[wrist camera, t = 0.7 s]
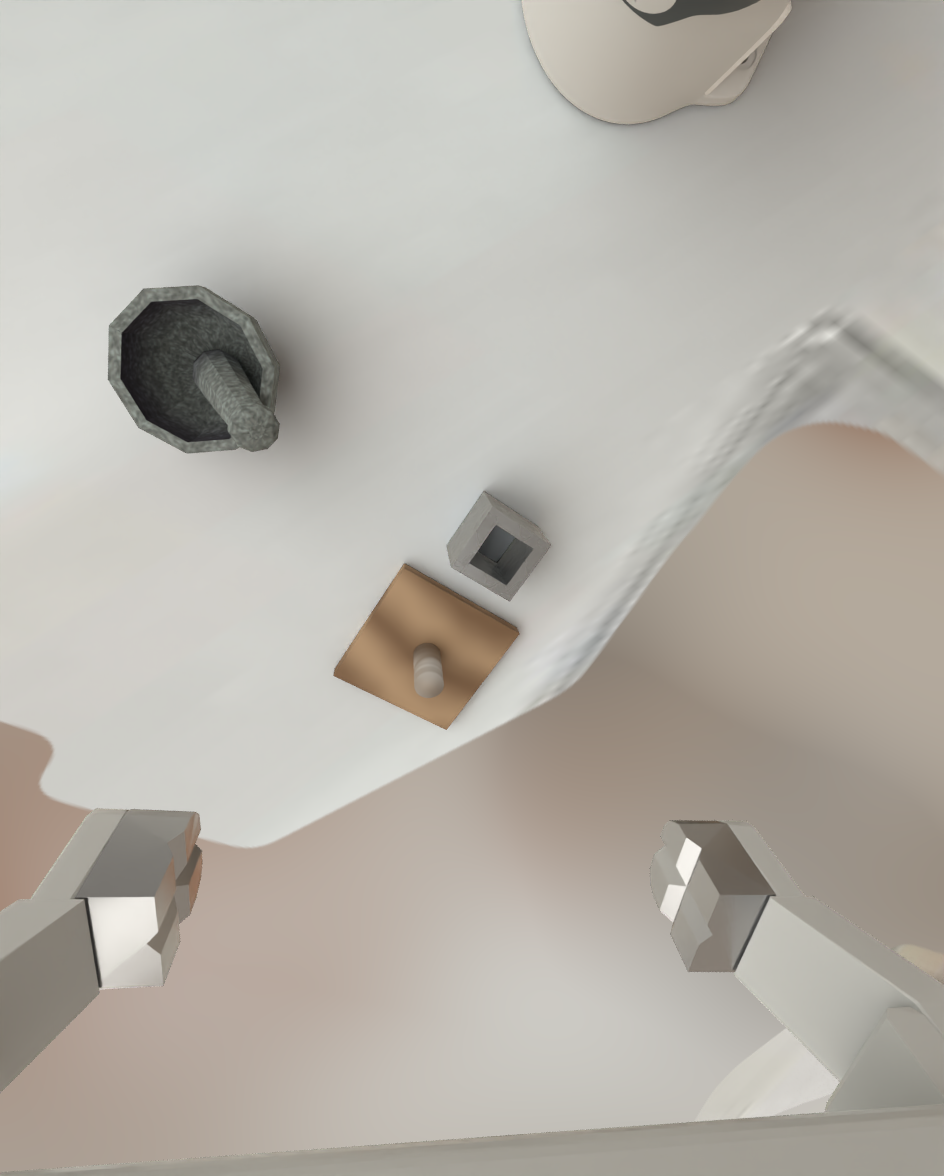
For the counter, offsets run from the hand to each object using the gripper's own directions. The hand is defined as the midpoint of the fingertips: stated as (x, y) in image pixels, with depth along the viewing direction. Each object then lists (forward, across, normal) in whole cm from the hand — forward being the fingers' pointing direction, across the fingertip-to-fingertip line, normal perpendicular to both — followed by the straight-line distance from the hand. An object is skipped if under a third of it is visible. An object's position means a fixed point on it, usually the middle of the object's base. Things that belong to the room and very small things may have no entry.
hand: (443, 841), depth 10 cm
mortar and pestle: (+38, +13, -4) cm, 41 cm away
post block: (+38, -3, +17) cm, 42 cm away
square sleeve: (+38, -7, +6) cm, 39 cm away
